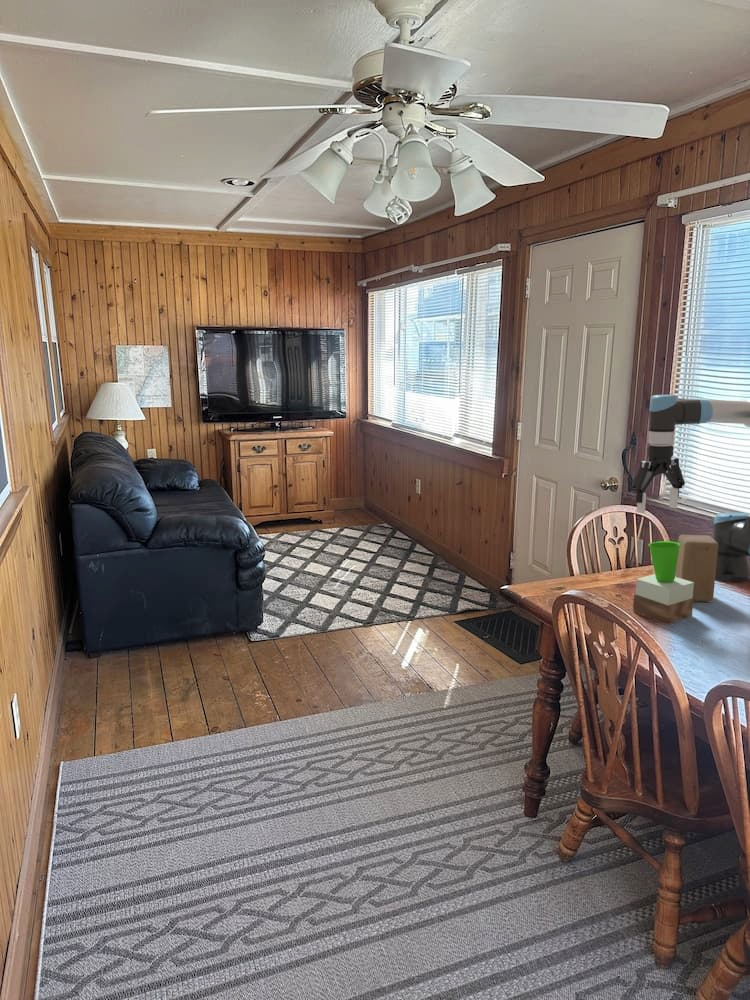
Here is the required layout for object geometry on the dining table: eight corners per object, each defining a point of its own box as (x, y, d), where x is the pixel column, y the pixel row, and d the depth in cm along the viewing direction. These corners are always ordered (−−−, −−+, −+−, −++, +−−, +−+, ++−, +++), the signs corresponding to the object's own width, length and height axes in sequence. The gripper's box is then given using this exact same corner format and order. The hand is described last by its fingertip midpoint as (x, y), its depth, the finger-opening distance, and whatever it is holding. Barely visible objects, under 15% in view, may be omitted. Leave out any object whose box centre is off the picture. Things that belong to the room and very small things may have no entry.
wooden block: (713, 603, 217) (719, 542, 212) (680, 601, 219) (685, 541, 214) (705, 592, 226) (710, 534, 222) (673, 591, 228) (678, 533, 224)
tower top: (659, 587, 215) (660, 572, 214) (692, 598, 205) (693, 582, 204) (635, 594, 209) (636, 578, 208) (668, 605, 199) (669, 589, 198)
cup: (685, 583, 201) (684, 546, 199) (653, 584, 202) (652, 548, 201) (676, 575, 210) (675, 540, 208) (645, 576, 211) (644, 542, 209)
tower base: (657, 604, 216) (659, 587, 215) (691, 616, 206) (693, 598, 205) (632, 612, 210) (634, 594, 209) (666, 624, 200) (668, 605, 199)
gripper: (680, 440, 221) (676, 503, 226) (621, 446, 212) (618, 512, 216) (699, 442, 215) (695, 507, 219) (639, 449, 205) (635, 517, 210)
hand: (657, 510), depth 218 cm, fingers open, 13 cm apart
